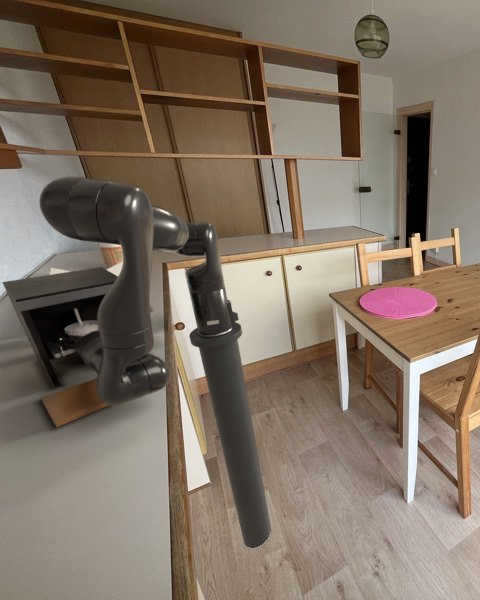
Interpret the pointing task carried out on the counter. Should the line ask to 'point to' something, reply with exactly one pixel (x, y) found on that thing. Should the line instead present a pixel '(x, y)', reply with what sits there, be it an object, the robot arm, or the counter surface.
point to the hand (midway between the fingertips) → (84, 330)
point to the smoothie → (81, 327)
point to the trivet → (73, 402)
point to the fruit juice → (111, 254)
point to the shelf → (57, 306)
